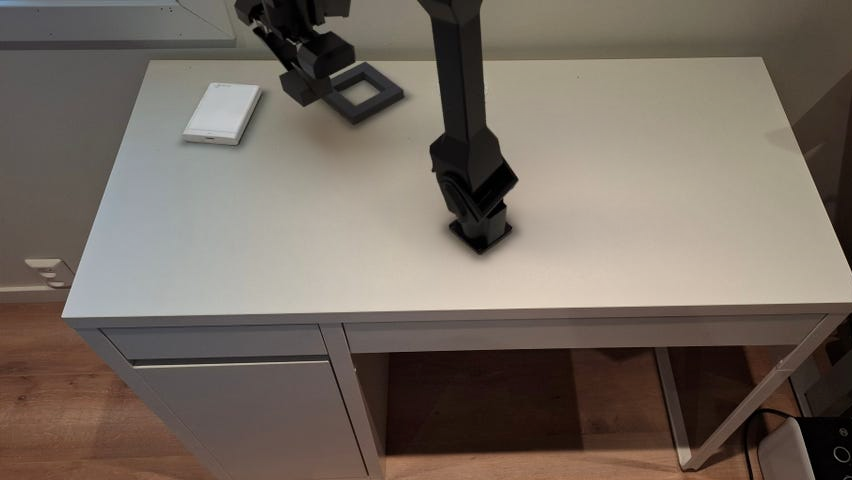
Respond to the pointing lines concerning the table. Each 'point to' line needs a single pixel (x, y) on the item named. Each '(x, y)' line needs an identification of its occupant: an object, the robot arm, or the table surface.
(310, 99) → the black block
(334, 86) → the dark grey square frame
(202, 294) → the table surface
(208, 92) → the hard drive
